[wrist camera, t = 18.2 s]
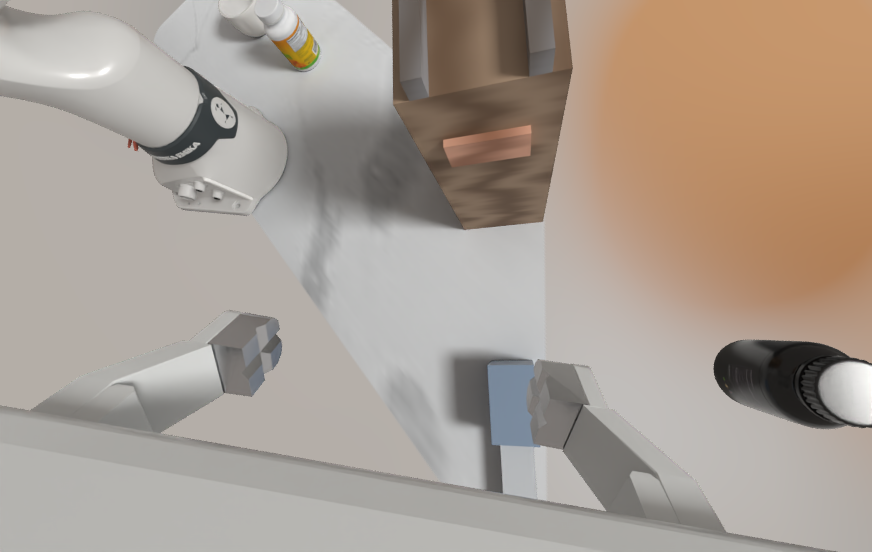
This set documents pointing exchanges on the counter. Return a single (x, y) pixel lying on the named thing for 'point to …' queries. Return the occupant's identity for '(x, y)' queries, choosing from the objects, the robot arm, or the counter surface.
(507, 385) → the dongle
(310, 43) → the supplement bottle
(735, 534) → the robot arm
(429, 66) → the socket tower
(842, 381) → the supplement bottle
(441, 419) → the counter surface
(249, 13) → the teacup
